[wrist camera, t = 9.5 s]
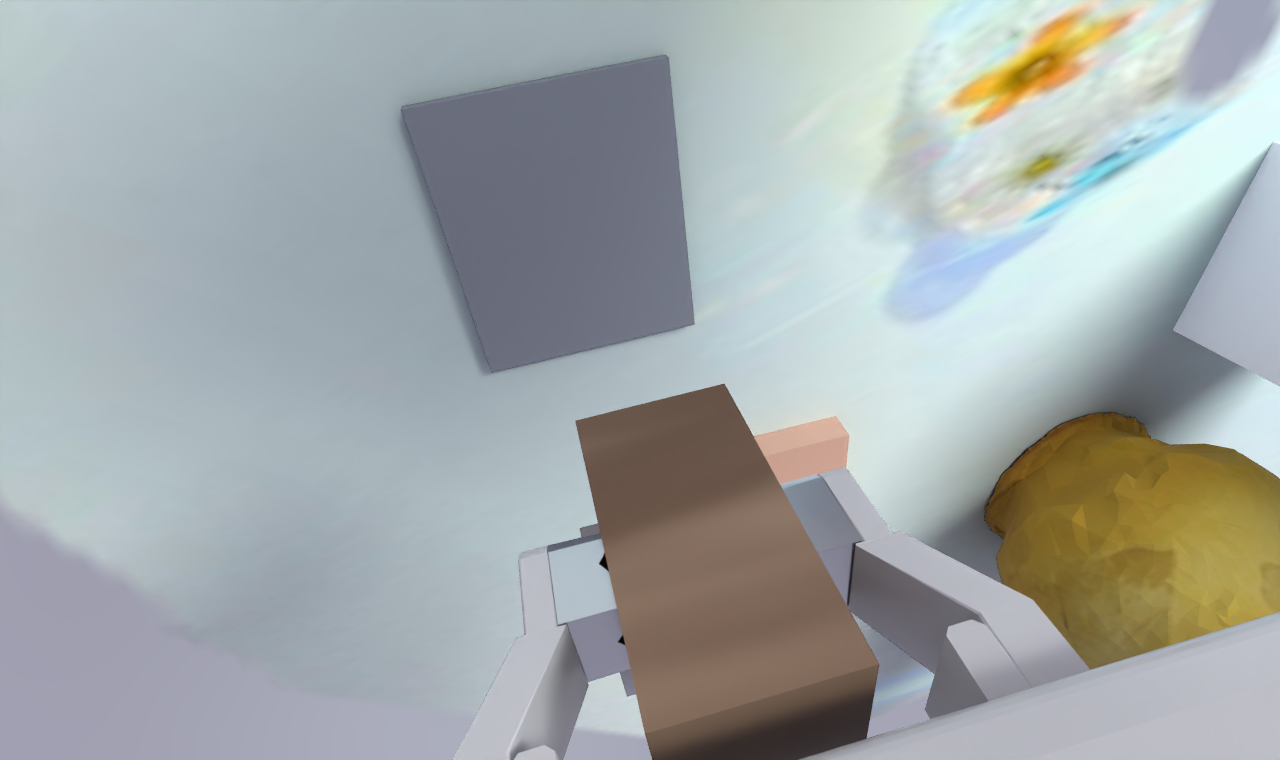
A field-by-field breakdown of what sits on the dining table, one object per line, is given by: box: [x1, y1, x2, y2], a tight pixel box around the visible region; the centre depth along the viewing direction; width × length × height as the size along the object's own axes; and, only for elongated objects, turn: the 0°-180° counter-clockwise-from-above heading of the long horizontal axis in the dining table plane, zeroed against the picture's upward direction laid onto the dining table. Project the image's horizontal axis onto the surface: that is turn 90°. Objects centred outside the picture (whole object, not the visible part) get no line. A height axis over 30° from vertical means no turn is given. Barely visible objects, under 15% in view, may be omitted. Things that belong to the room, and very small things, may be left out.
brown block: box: [576, 384, 879, 760], centre depth 13 cm, size 9×4×6 cm, turn 9°
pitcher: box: [984, 412, 1280, 670], centre depth 38 cm, size 17×19×25 cm
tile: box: [754, 416, 849, 484], centre depth 40 cm, size 2×8×9 cm
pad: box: [401, 55, 694, 373], centre depth 28 cm, size 12×10×1 cm
